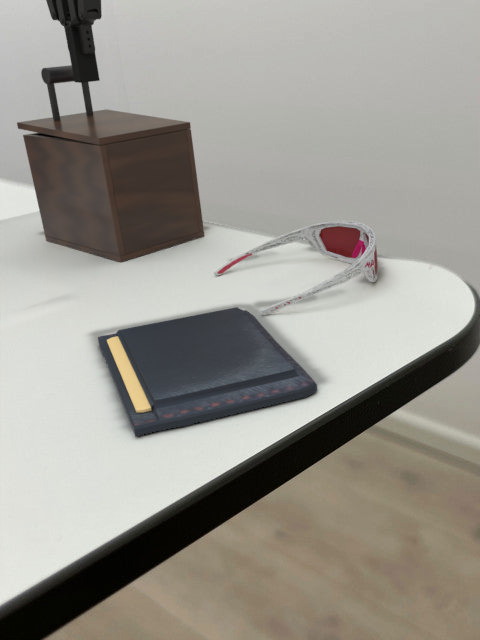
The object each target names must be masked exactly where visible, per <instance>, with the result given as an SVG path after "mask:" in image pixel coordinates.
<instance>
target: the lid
mask: <svg viewBox="0 0 480 640" xmlns="http://www.w3.org/2000/svg"><path fill="white" fill-rule="evenodd" d="M40 71H41V72H40V73H41V74H40V76H41V79H42V81H43V83H44V84H45V85H46V87H47V92H48V99H49V104H50V110H51V115H52V116H51V117H45V118H37V119H31V120H24V121H19V122H16V125H17V129H18V130H22V131H28V132H32V133H42V134H47V135H52V136H57V137H62V138H67V139H72V140H77V141H82V142H87V143H92V144H97V145H103V144H109V143H114V142H120V141H125V140H131V139H136V138H142V137H147V136H153V135H158V134H164V133H169V132H175V131H180V130H186V129H191V127H192V126H191V122H190V121H184V120H177V119H172V118H171V119H170V118H165V117H158V116H153V115H146V114H145V115H144V114H139V113H131V112H125V111H119V110H113V109H108V108H107V109H99V110H94V109H93V103H92V97H91V90H90V84H89V83H90V82H83V83H80V84H81V90H82V97H83V103H84V108H85V112H79V113H73V114H72V113H71V114H65V115H60V114H61V113H60V108H59V104H58V98H57V92H56V87H55V85H57V84H64V83H73V82H74V83H75V81H74V76H73V70H72V65H71V64H70V65H61V66H59V65H58V66H49V67H43V68H41V70H40Z"/></svg>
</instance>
